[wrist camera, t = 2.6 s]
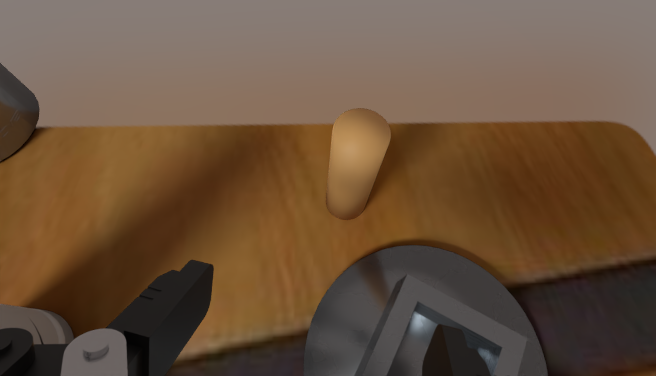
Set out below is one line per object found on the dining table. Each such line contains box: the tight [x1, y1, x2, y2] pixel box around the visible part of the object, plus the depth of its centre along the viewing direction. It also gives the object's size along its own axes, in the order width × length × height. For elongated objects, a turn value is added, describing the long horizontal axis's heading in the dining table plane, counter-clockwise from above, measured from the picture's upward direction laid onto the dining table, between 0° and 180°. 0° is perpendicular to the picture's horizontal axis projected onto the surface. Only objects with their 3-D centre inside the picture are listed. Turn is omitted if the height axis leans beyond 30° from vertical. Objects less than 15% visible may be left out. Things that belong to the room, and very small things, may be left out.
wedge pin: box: [326, 108, 391, 220], centre depth 24 cm, size 3×3×10 cm
